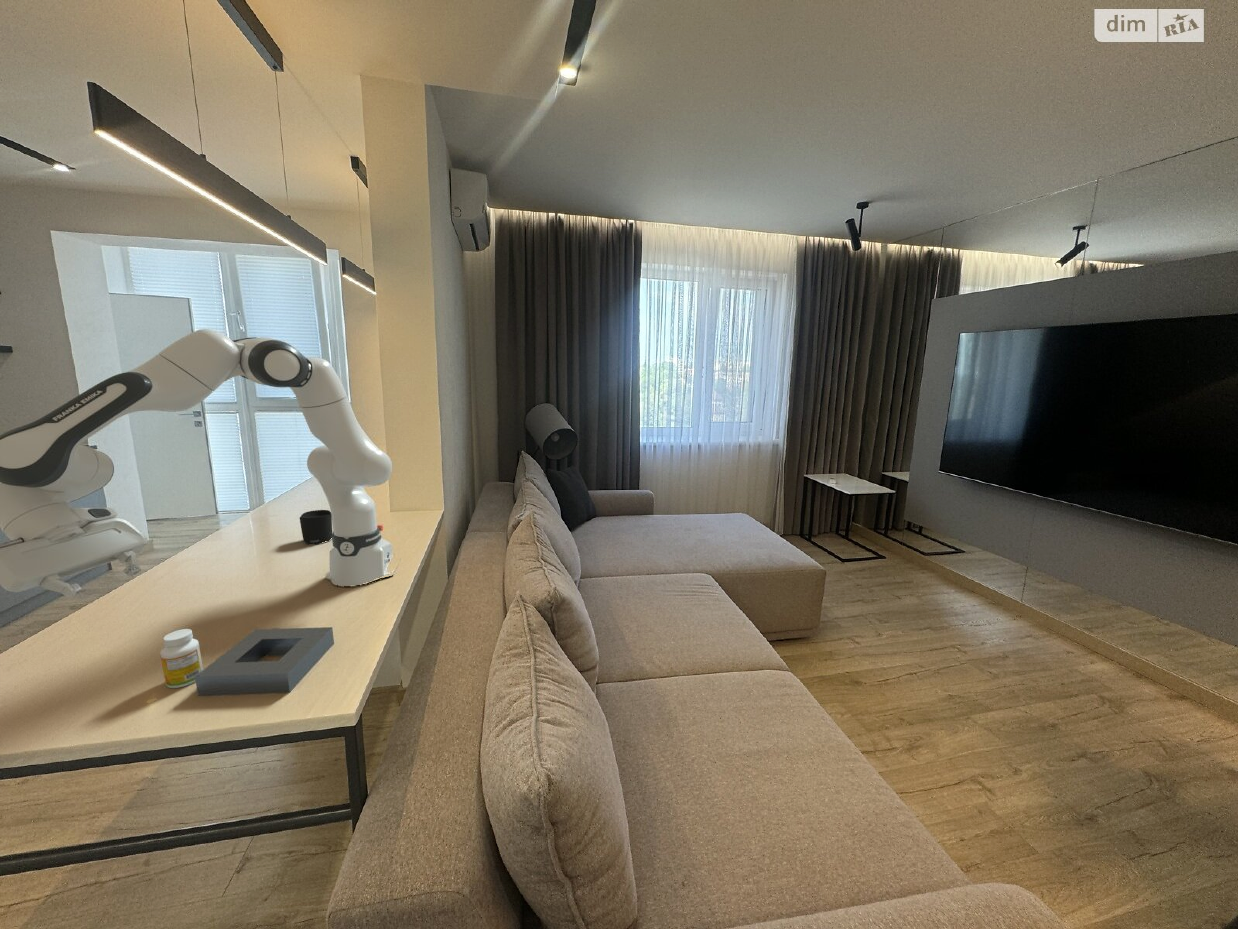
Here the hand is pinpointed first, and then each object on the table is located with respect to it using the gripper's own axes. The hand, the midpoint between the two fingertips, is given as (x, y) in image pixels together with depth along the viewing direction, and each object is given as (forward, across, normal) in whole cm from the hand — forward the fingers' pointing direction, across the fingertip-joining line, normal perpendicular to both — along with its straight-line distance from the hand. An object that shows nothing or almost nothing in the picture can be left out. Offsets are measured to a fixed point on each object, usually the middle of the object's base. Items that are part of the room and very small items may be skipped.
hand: (107, 583), depth 86 cm
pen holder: (+2, +74, +25) cm, 78 cm away
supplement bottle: (+23, 0, +5) cm, 23 cm away
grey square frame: (+32, +6, -5) cm, 33 cm away
